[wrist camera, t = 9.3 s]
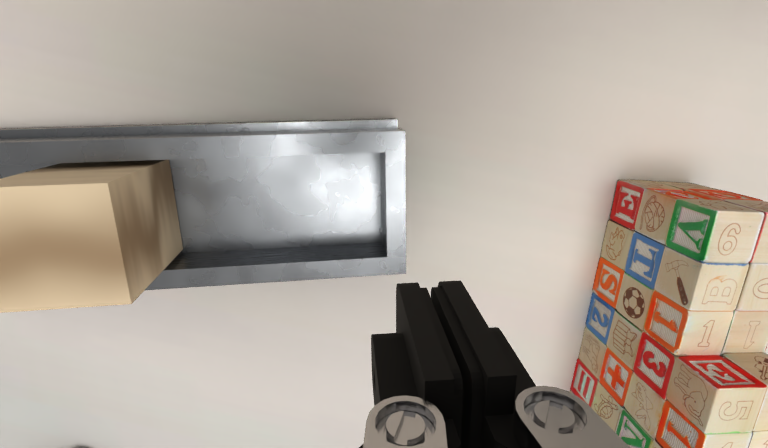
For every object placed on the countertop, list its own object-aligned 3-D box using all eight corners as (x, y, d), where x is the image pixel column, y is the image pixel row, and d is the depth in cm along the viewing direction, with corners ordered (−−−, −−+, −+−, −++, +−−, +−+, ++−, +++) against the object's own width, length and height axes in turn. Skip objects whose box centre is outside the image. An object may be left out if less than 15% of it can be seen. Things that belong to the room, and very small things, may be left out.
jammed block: (65, 161, 27) (-39, 188, 19) (168, 158, 28) (107, 183, 20) (86, 254, 29) (-2, 312, 21) (183, 249, 29) (131, 303, 22)
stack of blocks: (613, 177, 33) (771, 223, 21) (689, 181, 34) (882, 227, 22) (562, 419, 39) (663, 560, 27) (628, 417, 39) (754, 554, 28)
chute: (-30, 129, 27) (-90, 135, 23) (395, 118, 30) (405, 122, 26) (12, 281, 30) (-35, 309, 26) (397, 258, 32) (406, 280, 29)
